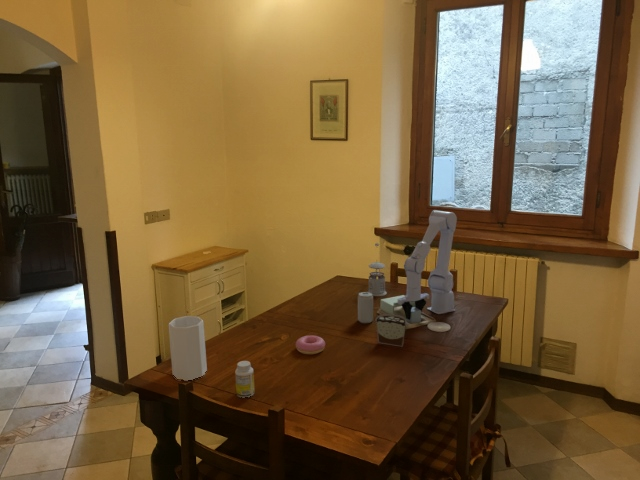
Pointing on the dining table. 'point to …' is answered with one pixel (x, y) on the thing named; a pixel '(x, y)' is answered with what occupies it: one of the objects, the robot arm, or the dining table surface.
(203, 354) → the cup
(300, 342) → the doughnut
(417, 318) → the slate-blue block
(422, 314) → the beige open frame
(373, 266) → the french press
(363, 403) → the dining table surface
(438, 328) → the cream saucer
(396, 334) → the food container
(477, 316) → the dining table surface
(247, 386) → the supplement bottle
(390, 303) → the sliding cover
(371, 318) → the beverage can
